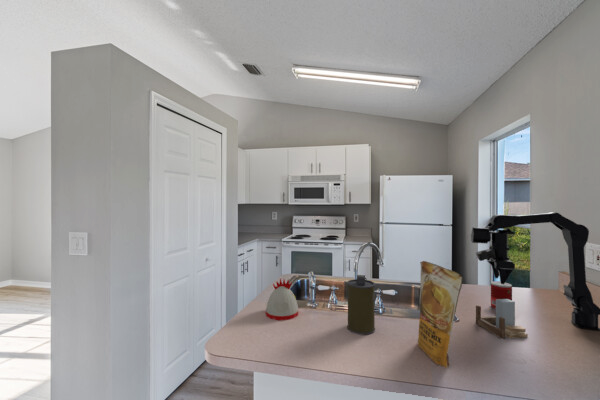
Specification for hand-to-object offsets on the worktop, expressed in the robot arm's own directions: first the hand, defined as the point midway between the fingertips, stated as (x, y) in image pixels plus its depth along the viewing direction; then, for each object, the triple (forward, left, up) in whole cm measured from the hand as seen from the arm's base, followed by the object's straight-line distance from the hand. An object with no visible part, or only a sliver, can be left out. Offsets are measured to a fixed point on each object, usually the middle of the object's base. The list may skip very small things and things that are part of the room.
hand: (499, 280), depth 122 cm
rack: (+2, +15, -15) cm, 21 cm away
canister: (+53, +34, -15) cm, 64 cm away
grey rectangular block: (+2, +15, -15) cm, 21 cm away
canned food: (-3, -11, -15) cm, 19 cm away
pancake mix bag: (+28, +44, -15) cm, 54 cm away
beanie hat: (+87, +32, -15) cm, 94 cm away
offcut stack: (0, +20, -15) cm, 25 cm away
